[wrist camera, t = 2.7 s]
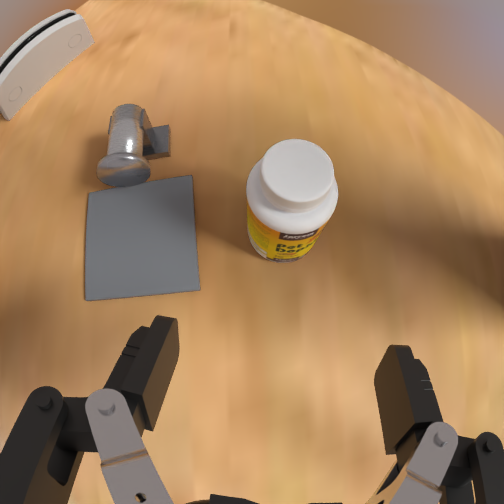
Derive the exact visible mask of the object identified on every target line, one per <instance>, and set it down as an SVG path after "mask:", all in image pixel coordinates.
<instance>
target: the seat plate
mask: <svg viewBox="0 0 504 504" xmlns="http://www.w3.org/2000/svg"><path fill="white" fill-rule="evenodd" d="M199 290H200V280H199V268H198V256H197V243H196V229H195V214H194V197H193V178H192V175H188V176H181V177H174V178H168V179H162V180H155V181H149V182H144V183H141V184H139V185H136V186H131V187H116V188H111V189H106V190H101V191H96V192H91V193H89V199H88V212H87V228H86V255H85V296H86V301H95V300H107V299H118V298H129V297H140V296H150V295H161V294H171V293H180V292H190V291H199Z"/></svg>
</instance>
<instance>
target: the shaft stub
mask: <svg viewBox="0 0 504 504" xmlns="http://www.w3.org/2000/svg"><path fill="white" fill-rule="evenodd" d="M108 134H109V141H108V149H107V156H105V157H103V158H102V159H101V160H100V161H99V162H98V164H97V171H96V175H97V177H98V179H99V180H100V181H102V182H103V183H105V184H107V185H110V186H115V187H131V186H136V185H139V184H141V183H143V182H145V181H146V180H147V179H148V178H149V177H150V163H149V162H148V160H151V159H157V158H162V157H169V156H170V127H169V125H164V126H159V127H153V128H152V125H151V123H150V121H149V118H148V116H147V114H146V111H145V109H142V108H141V107H139V106H137V105H134V104H124V105H120V106H118V107H117V108H115V109H114V111H113V113H112V116H111V118H110V124H109V131H108Z"/></svg>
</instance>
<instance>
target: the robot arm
mask: <svg viewBox="0 0 504 504" xmlns="http://www.w3.org/2000/svg"><path fill="white" fill-rule="evenodd" d="M178 356H179V335H178V322H177V319H176V318H170V317H165V316H159V315H157V316H156V317H155V318H154V320H153V322H152V324H151V326H150V328H149V327H144V326H141V327H140V328H139V329H137V330H136V331H135V332H134V333H133V334H131V336H130V338H129V340H128V342H127V344H126V347H125V348H124V349H123V351H122V355H120V357H119V359H118V361H117V363H116V365H115V367H114V369H113V371H112V373H111V375H110V377H109V379H108V381H107V382H106V384H105V386H104V387H103V389H100V390H97V391H95V392H93V393H92V394H91V395H90V396H89V397H83V398H79V397H62V395H61V393H60V392H59V391H58V390H57V389H55V388H53V387H50V386H43V387H39V388H37V389H35V390H34V391H33V392H32V393H31V394H30V396H29V397H28V399H27V401H26V403H25V405H24V407H23V409H22V411H21V412H20V414H19V416H18V418H17V420H16V422H15V424H14V426H13V429H12V431H11V433H10V435H9V437H8V439H7V441H6V443H5V445H4V448H3V450H2V452H1V454H0V504H67V503H68V500H69V497H70V493H71V490H72V487H73V484H74V481H75V478H76V475H77V472H78V469H79V466H80V463H81V460H82V457H83V455H84V452H99V455H100V458H101V469H102V473H103V475H104V478H105V481H106V483H107V486H108V488H109V491H110V493H111V496H112V498H113V501H114V503H115V504H174V503H173V501H172V500H171V498H170V496H169V494H168V492H167V490H166V488H165V486H164V485H163V483H162V481H161V479H160V477H159V475H158V473H157V471H156V469H155V467H154V464H153V462H152V460H151V458H150V456H149V454H148V452H147V450H146V448H145V446H144V443H143V441H142V439H141V437H142V434H143V431H144V429H146V430H150V431H153V430H154V427H155V424H156V421H157V418H158V415H159V412H160V409H161V407H162V404H163V401H164V398H165V395H166V392H167V389H168V386H169V384H170V381H171V378H172V375H173V372H174V370H175V367H176V364H177V361H178ZM374 386H375V391H376V396H377V402H378V407H379V413H380V419H381V425H382V431H383V438H384V444H385V451H386V455H390V454H396V456H397V460H396V461H395V462H394V464H393V465H392V467H391V468H390V470H389V472H388V473H387V475H386V476H385V478H384V479H383V481H382V482H381V484H380V485H379V487H378V488H377V490H376V491H375V492H374V494H373V495H372V497H371V498H370V499H369V500H368V501H367V502H366V503H365V504H438V502H440V504H504V449H503V446H502V443H501V441H500V439H499V438H498V437H497V436H496V435H495V434H493V433H491V432H484V433H482V434H480V435H479V436H478V437H477V438H476V439H472V438H467V437H462V436H458V435H457V433H456V431H455V429H454V428H453V427H452V426H450V425H449V424H447V423H444V422H443V419H442V416H441V412H440V409H439V406H438V402H437V399H436V396H435V393H434V390H433V387H432V384H431V382H430V378H429V375H428V372H427V369H426V368H425V366H424V365H423V364H422V362H421V361H420V360H419V359H414V356H413V353H412V350H411V348H410V347H409V346H407V345H390V346H389V347H388V349H387V351H386V353H385V355H384V357H383V359H382V360H381V362H380V364H379V366H378V368H377V370H376V373H375V378H374ZM472 480H473V484H474V491H475V497H476V503H474V496H473V489H472V483H471V481H472ZM186 504H258V503H255V502H252V501H249V500H246V499H243V498H235V497H228V496H221V495H215V494H211V495H210V500H200V501H194V502H190V503H186ZM309 504H342V503H309Z"/></svg>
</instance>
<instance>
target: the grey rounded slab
mask: <svg viewBox="0 0 504 504" xmlns="http://www.w3.org/2000/svg"><path fill="white" fill-rule="evenodd" d="M93 43H95V42H94V40H93V38H92V36H91V33H90V31H89V29H88V27H87V25H86V22H85V20H84V19H83V17H82V16H81V15H80V14H77V13H76V12H75V11H73V10H69V9H66V10H64V11H61V12H59V13H56V14H54V15H52V16H50V17H48V18H47V19H45V20H43V21H42V22H40V23H38V24H37V25H35V26H34V27H32V28H31V29H30V30H28V31H27V32H26V33H25V34H24V35H23V36H21V37H20V38H19V39H18V40H17V41H16V42H15V43H14V44H13V45H12V46H11V47H10V48H9V49H8V50H7V51H6V52H5V53H4V54H3V56H2V57H1V58H0V114H1V113H2V115H3V116H4V118H5V119H6V120H8V121H10V120H11V118H12V117H13V116H14V115H15V114H16V113H17V112H18V111H19V110H20V109H21V108H22V107H23V106H24V105H25V104H26V103H27V102H28V101H29V100H30V98H31V97H33V96H34V95H35V94H36V93H37V92H38V91H39V90H40V89H41V88H42V87H43V86H44V85H45V84H46V83H47V82H48V81H49V80H50V79H51V78H52V77H54V76H55V75H56V74H57V73H58V72H59V71H60V70H61V69H63V68H64V67H65V66H66V65H67V64H68V63H70V62H71V61H72V60H73V59H74V58H76V57H77V56H78V55H79V54H81V53H82V52H83V51H84V50H86V49H87V48H88V47H90V46H91V45H92V44H93Z"/></svg>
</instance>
